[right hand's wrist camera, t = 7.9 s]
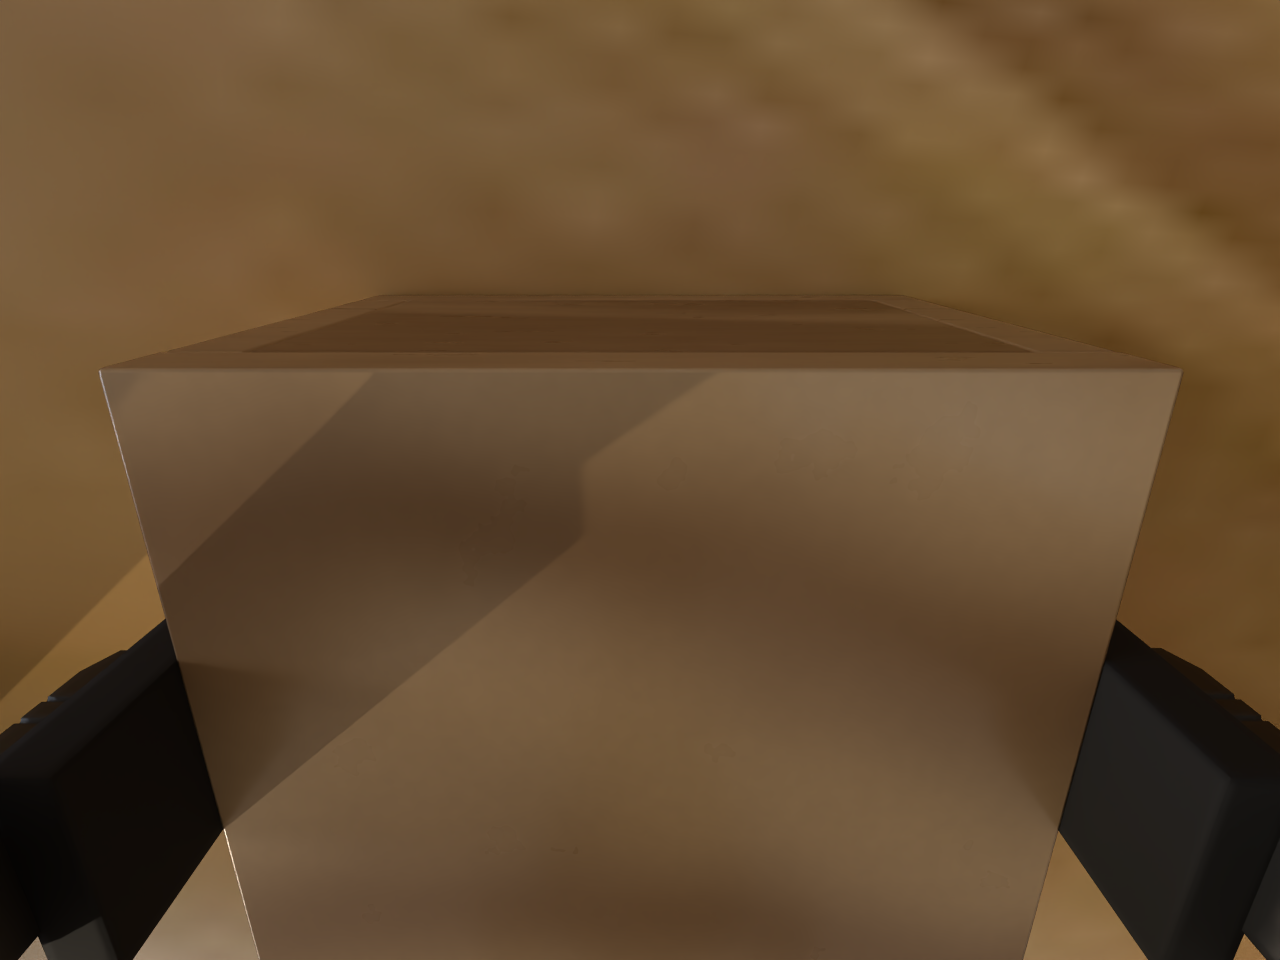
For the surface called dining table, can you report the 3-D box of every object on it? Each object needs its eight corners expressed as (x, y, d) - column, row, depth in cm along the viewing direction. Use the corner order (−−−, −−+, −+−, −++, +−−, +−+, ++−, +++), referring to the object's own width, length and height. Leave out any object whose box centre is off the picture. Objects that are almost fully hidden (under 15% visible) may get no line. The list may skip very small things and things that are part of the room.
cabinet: (830, 877, 21) (941, 1260, 13) (450, 876, 21) (338, 1258, 13) (906, 294, 15) (1187, 367, 7) (376, 295, 15) (94, 368, 7)
